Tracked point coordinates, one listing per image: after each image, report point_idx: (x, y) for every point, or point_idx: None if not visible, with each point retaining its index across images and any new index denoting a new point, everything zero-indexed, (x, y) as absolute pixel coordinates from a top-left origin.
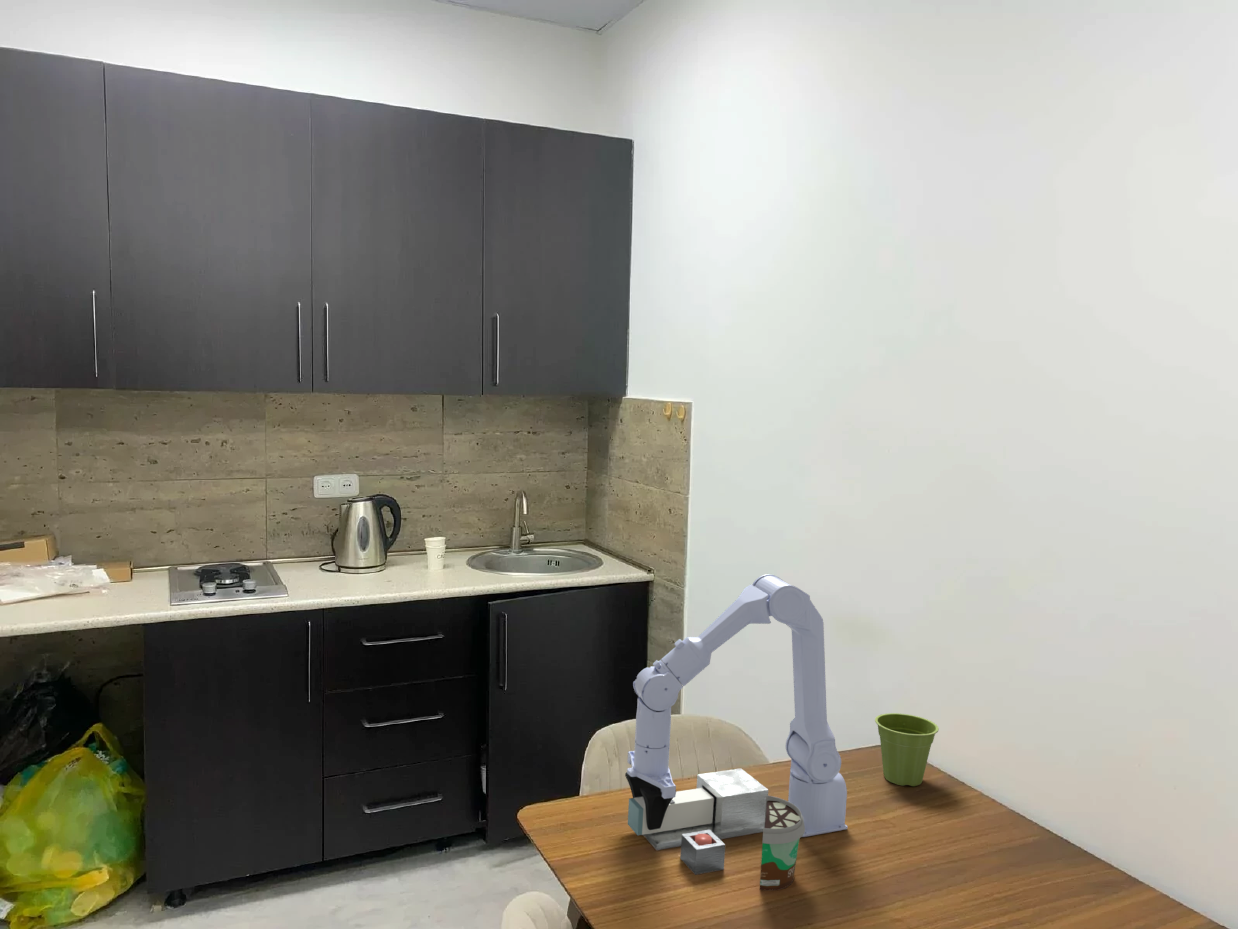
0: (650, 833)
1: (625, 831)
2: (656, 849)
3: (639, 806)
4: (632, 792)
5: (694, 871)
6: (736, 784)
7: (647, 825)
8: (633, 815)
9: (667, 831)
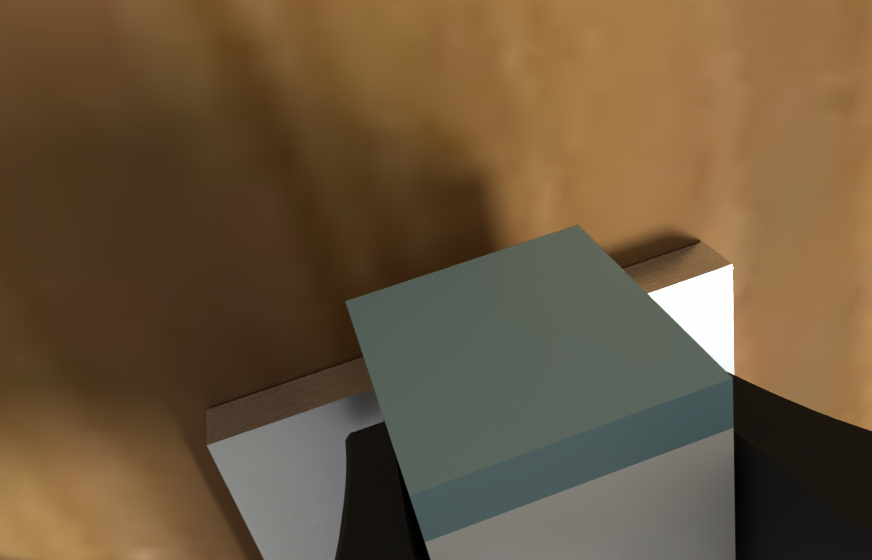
0: None
1: (560, 179)
2: (207, 414)
3: (494, 499)
4: (827, 443)
5: None
6: None
7: (375, 442)
8: (513, 346)
9: None
